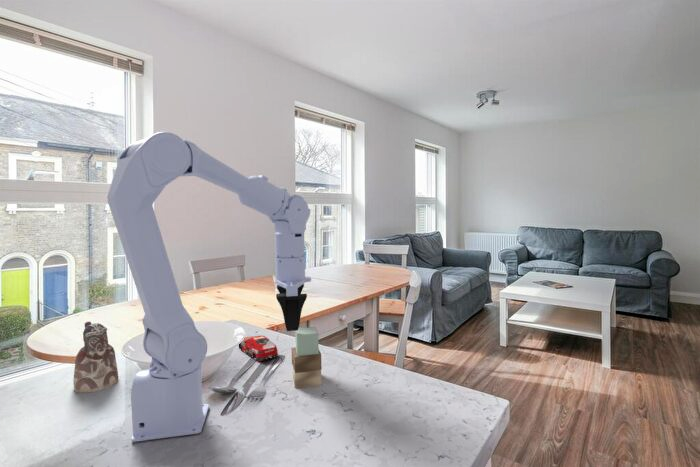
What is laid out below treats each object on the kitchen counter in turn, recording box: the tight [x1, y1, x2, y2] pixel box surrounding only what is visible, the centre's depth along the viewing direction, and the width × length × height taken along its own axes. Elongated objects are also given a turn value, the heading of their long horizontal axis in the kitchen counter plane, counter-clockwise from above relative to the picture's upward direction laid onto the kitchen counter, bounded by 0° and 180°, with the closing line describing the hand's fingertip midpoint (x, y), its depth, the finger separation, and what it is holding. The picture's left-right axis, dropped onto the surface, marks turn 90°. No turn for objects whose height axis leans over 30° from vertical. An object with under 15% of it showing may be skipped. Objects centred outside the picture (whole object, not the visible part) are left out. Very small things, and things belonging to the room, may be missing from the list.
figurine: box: [72, 321, 119, 393], centre depth 72 cm, size 7×7×12 cm
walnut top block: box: [291, 346, 322, 373], centre depth 72 cm, size 5×5×3 cm
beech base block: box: [292, 367, 322, 388], centre depth 72 cm, size 5×5×3 cm
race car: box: [238, 335, 279, 362], centre depth 87 cm, size 13×5×4 cm, turn 37°
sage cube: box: [294, 326, 320, 356], centre depth 72 cm, size 4×4×4 cm
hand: (291, 324), depth 74 cm, fingers open, 7 cm apart
